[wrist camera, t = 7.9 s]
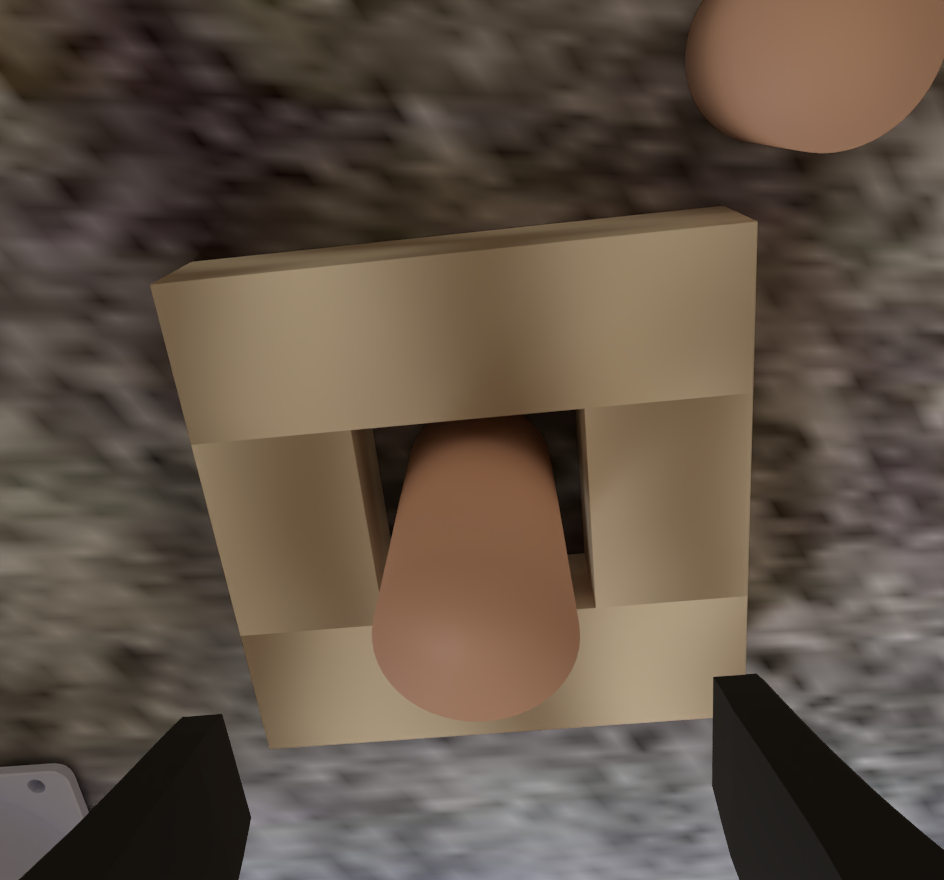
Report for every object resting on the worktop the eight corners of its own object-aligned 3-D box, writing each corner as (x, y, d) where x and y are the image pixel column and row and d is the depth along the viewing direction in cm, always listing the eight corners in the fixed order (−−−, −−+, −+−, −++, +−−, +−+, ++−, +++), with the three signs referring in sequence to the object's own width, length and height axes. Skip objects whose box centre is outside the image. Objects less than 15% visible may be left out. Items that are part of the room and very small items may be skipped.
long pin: (423, 541, 21) (396, 732, 15) (394, 415, 20) (350, 564, 14) (560, 521, 21) (591, 708, 15) (540, 391, 20) (565, 533, 13)
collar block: (291, 684, 23) (269, 749, 21) (191, 261, 19) (149, 284, 16) (718, 652, 23) (744, 715, 20) (722, 205, 18) (758, 221, 16)
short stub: (685, 152, 18) (729, 164, 14) (683, -38, 16) (731, -72, 13) (855, 133, 17) (939, 141, 14) (868, -61, 16) (963, -102, 13)
